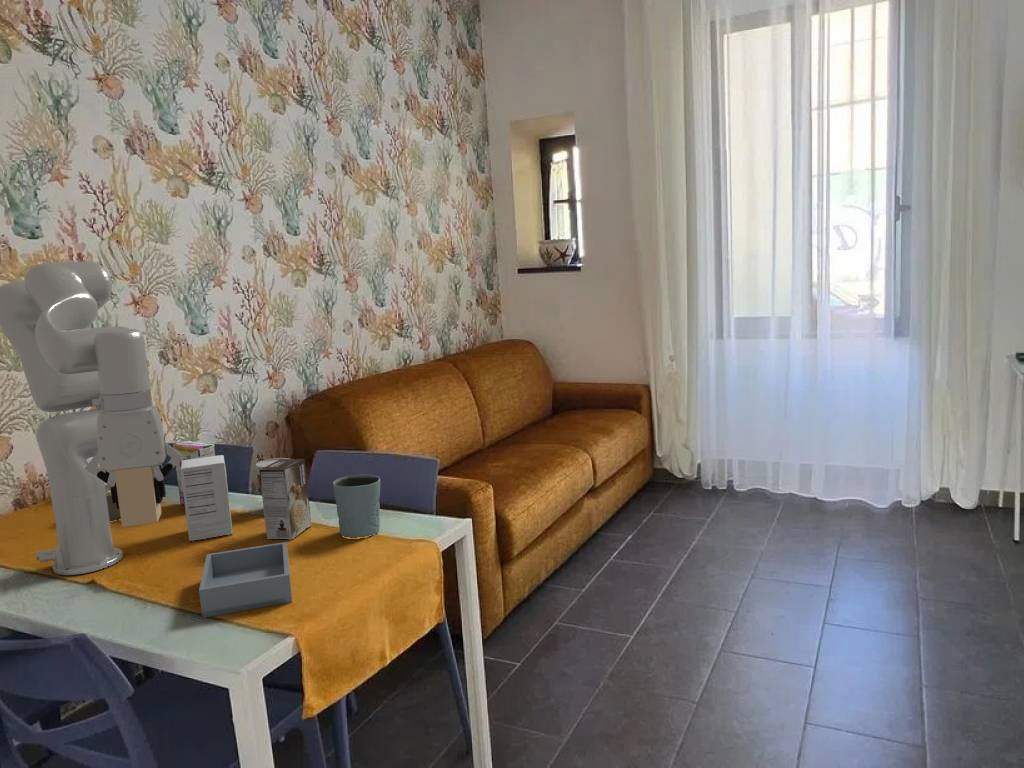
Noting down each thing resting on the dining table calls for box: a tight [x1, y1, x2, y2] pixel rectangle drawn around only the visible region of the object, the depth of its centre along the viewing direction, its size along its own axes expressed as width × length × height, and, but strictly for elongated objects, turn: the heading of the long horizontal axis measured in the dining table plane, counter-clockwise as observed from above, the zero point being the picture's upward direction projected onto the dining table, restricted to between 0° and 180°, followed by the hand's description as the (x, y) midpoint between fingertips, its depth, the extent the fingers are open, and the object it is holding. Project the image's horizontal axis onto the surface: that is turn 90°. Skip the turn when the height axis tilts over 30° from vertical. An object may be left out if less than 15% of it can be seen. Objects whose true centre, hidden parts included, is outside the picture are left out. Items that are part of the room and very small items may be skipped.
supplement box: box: [180, 454, 233, 541], centre depth 166 cm, size 10×9×17 cm
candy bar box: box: [172, 440, 217, 507], centre depth 187 cm, size 11×5×16 cm, turn 58°
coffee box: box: [259, 458, 312, 539], centre depth 163 cm, size 9×6×16 cm
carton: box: [114, 466, 162, 528], centre depth 127 cm, size 6×6×10 cm
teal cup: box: [332, 474, 381, 538], centre depth 161 cm, size 10×10×12 cm
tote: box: [198, 541, 293, 619], centre depth 134 cm, size 15×18×5 cm
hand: (140, 502), depth 128 cm, fingers closed on carton, 5 cm apart
